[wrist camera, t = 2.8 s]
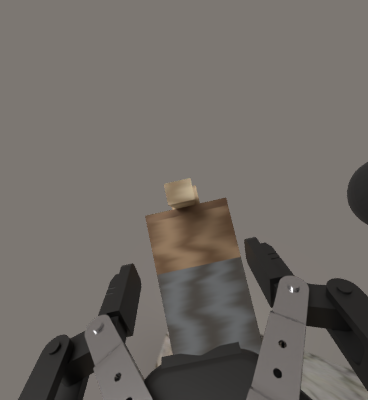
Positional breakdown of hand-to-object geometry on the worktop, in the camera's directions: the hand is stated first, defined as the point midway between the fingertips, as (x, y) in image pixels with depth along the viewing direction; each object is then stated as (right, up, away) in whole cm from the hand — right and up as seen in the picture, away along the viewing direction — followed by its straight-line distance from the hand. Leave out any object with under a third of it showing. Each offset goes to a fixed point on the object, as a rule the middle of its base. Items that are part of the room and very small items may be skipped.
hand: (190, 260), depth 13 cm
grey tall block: (+7, -30, +20) cm, 37 cm away
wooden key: (0, +3, +17) cm, 18 cm away
